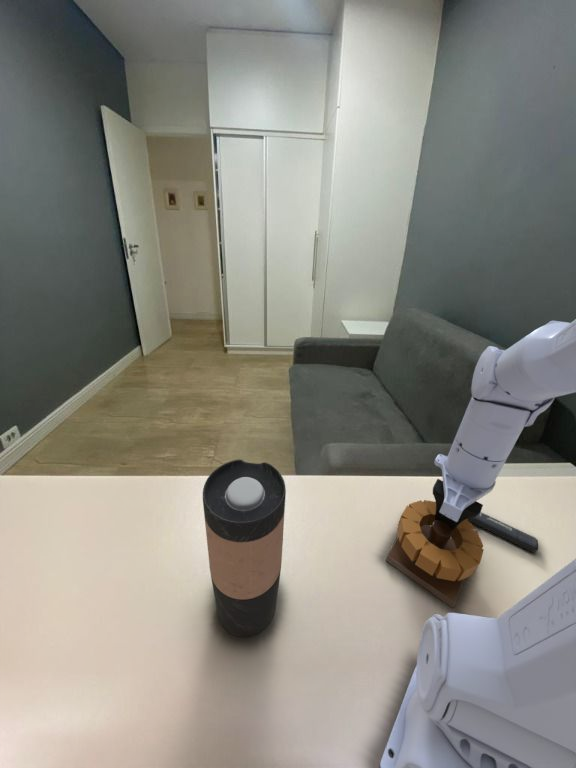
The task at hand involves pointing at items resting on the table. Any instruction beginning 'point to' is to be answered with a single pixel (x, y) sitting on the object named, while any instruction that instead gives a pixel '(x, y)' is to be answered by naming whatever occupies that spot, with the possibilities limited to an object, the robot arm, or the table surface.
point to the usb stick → (506, 531)
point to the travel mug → (245, 542)
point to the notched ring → (429, 555)
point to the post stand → (438, 587)
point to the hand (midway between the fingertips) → (446, 518)
